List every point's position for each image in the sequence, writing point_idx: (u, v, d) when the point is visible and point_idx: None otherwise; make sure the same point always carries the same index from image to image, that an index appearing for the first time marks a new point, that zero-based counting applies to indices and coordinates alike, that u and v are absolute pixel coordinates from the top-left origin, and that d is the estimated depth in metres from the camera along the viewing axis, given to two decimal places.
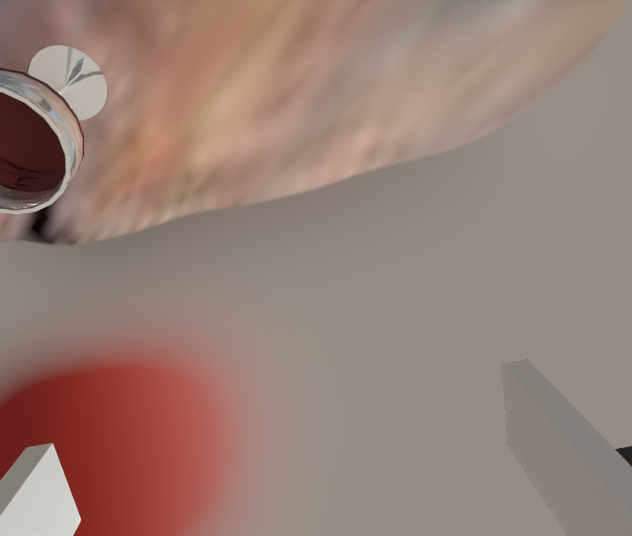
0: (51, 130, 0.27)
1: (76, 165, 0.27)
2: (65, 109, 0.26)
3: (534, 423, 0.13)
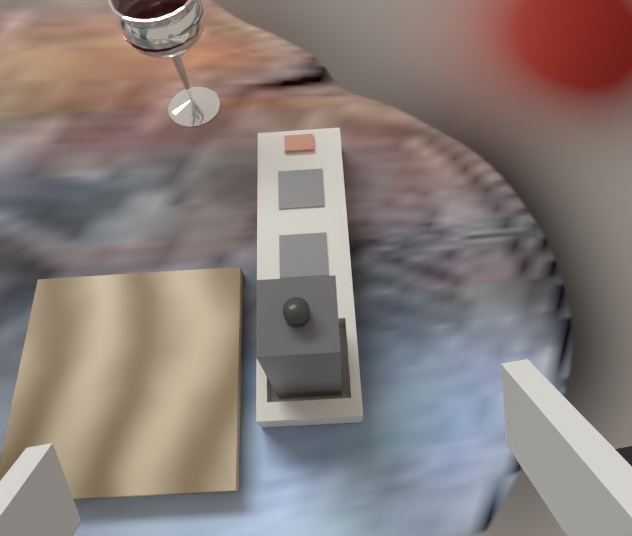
0: (148, 9, 0.42)
1: None
2: (125, 2, 0.41)
3: (533, 423, 0.13)
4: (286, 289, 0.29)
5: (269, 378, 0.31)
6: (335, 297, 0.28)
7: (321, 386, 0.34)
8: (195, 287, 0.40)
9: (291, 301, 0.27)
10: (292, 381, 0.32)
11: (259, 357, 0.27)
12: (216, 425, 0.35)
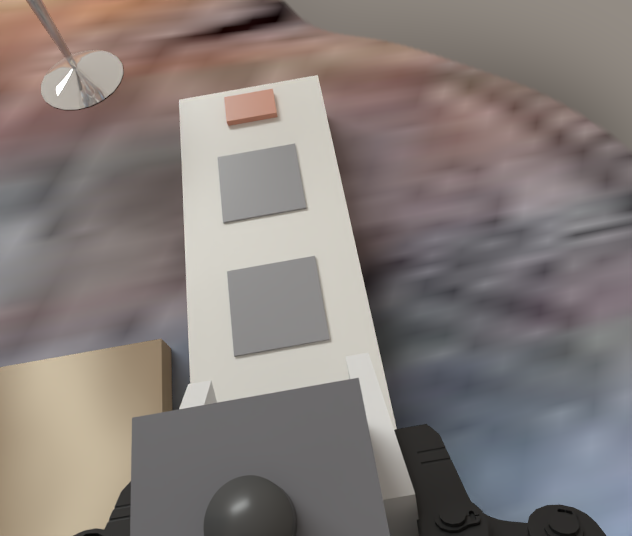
0: None
1: None
2: None
3: None
4: (219, 438, 0.10)
5: None
6: (368, 450, 0.09)
7: None
8: (76, 390, 0.21)
9: (230, 493, 0.08)
10: None
11: None
12: None
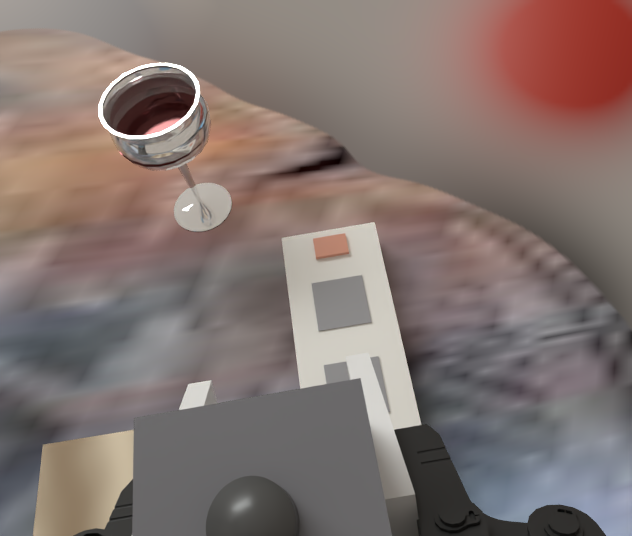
0: (145, 115, 0.36)
1: (148, 84, 0.36)
2: (117, 111, 0.36)
3: None
4: (221, 439, 0.10)
5: None
6: (370, 450, 0.09)
7: None
8: None
9: (233, 493, 0.08)
10: None
11: None
12: None
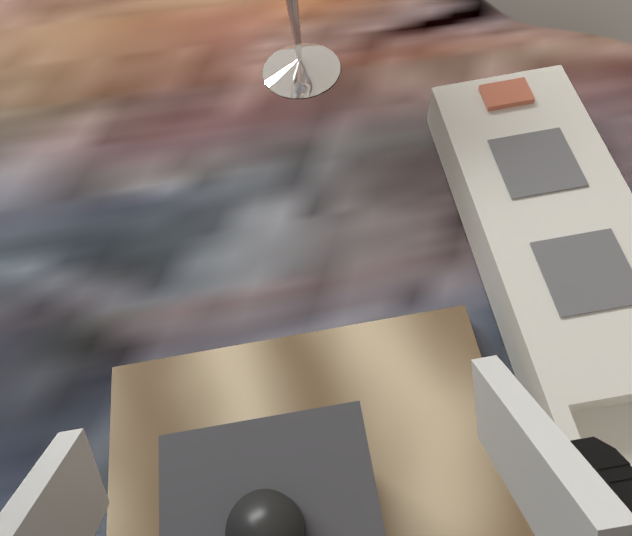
0: None
1: None
2: None
3: (498, 416, 0.13)
4: (236, 455, 0.11)
5: None
6: (368, 465, 0.11)
7: None
8: (397, 351, 0.22)
9: (248, 504, 0.10)
10: None
11: None
12: None
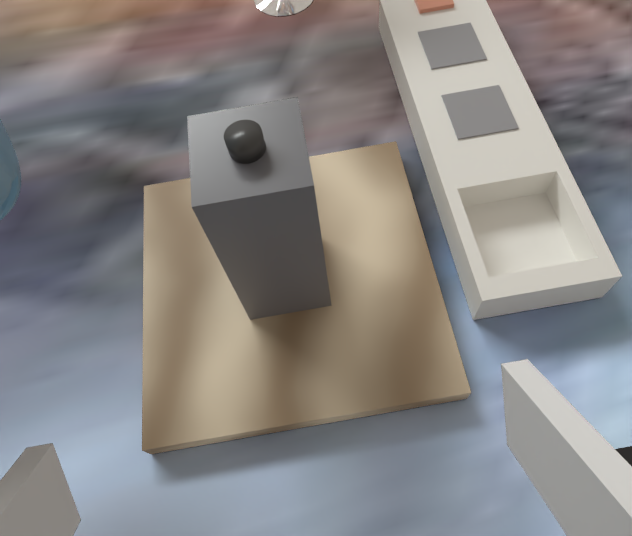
0: None
1: None
2: None
3: (533, 422, 0.13)
4: (230, 121, 0.20)
5: (225, 267, 0.22)
6: (300, 122, 0.20)
7: (301, 284, 0.25)
8: (346, 170, 0.32)
9: (235, 125, 0.19)
10: (259, 273, 0.23)
11: (196, 208, 0.18)
12: (421, 318, 0.27)
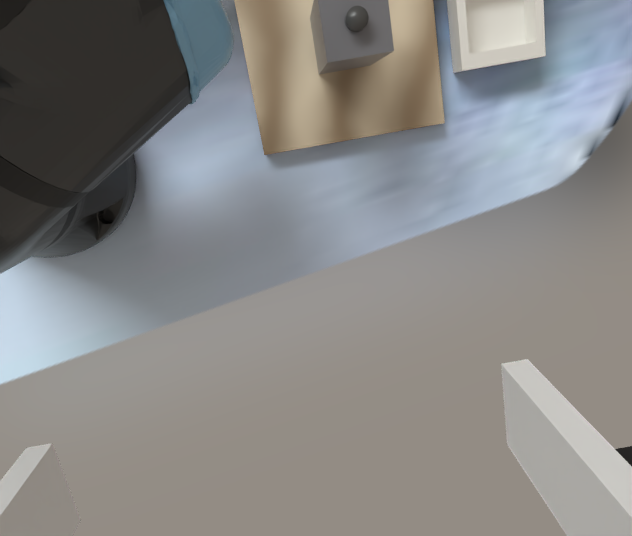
0: None
1: None
2: None
3: (533, 422, 0.13)
4: None
5: (324, 68, 0.38)
6: None
7: (359, 64, 0.41)
8: None
9: (352, 10, 0.32)
10: (340, 66, 0.39)
11: (329, 62, 0.34)
12: (423, 76, 0.44)
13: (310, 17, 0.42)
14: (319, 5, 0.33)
